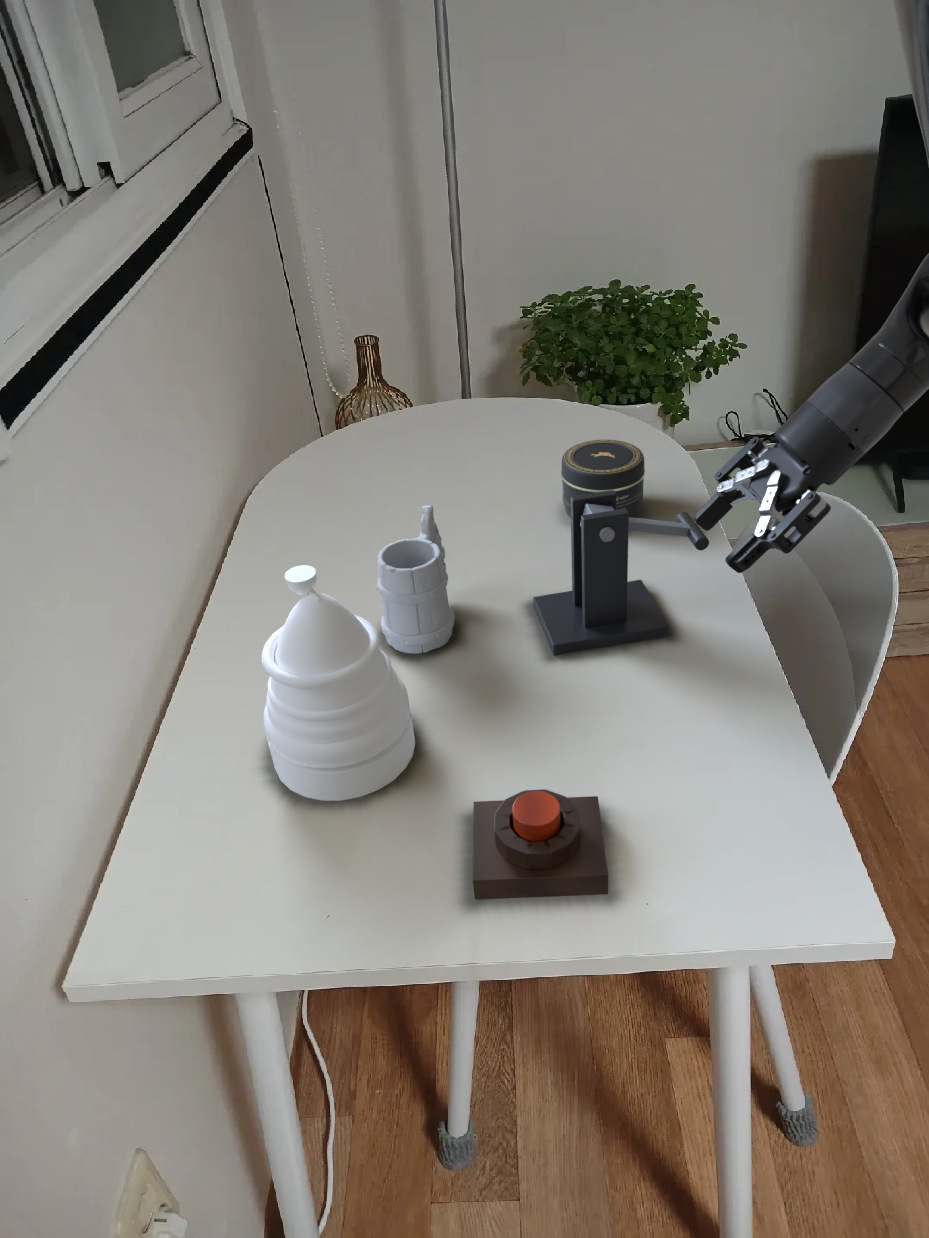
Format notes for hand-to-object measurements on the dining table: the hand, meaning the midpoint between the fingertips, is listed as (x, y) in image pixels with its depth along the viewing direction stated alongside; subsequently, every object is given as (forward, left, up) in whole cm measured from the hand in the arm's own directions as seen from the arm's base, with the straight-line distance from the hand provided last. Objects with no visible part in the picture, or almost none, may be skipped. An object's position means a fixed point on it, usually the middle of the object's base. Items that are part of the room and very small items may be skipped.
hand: (715, 546), depth 97 cm
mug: (+18, +24, -7) cm, 31 cm away
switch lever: (+4, +7, +3) cm, 8 cm away
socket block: (-14, +36, -7) cm, 39 cm away
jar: (+22, -6, -7) cm, 24 cm away
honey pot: (+7, +41, -7) cm, 42 cm away
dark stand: (+6, +11, -7) cm, 14 cm away
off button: (-14, +36, -3) cm, 39 cm away
